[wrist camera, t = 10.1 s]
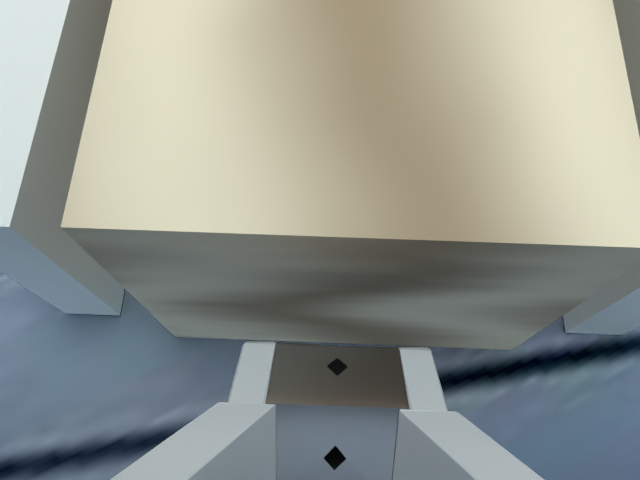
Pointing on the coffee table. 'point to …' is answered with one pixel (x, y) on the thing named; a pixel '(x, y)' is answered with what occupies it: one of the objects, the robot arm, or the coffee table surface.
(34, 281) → the dock
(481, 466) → the robot arm
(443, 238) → the wooden block
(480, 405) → the coffee table surface
